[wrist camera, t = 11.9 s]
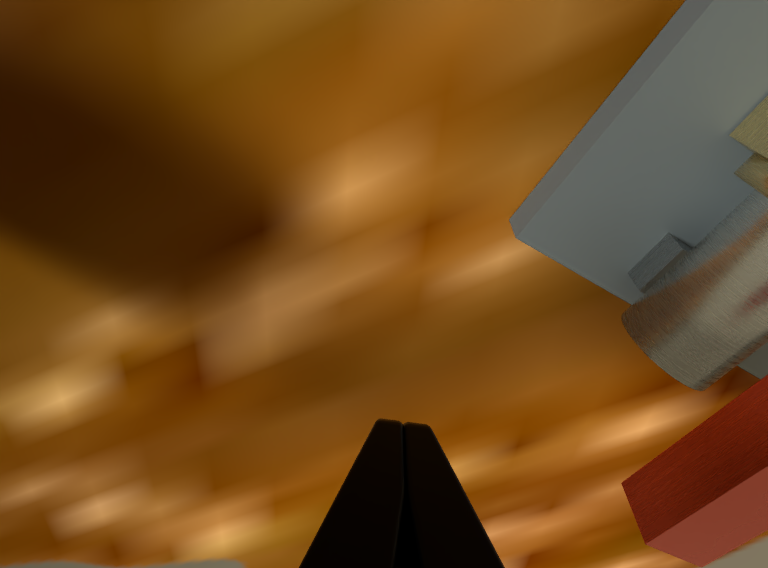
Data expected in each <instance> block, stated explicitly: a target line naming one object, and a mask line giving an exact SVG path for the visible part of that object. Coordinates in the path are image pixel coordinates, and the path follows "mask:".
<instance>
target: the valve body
mask: <svg viewBox="0 0 768 568" xmlns="http://www.w3.org/2000/svg"><path fill="white" fill-rule="evenodd" d="M729 136H731V137H732V138H733V139H735V140H736V141H737V142H739V143H740V144H742V145H743V146H744V147H746V148H747V149H748V150H750V151H751V152H752V153H753V154H752V155H751V156H750V157H749V158H748V159H747V160H746V161H745V162H744V163H743V164H742V165H741V166H740V167H739V168H738V169H737V170H736V171H735V172H734V173H733V174H735V175H736V176H737V177H739V178H740V179H742V180H743V181H745V182H746V183H747V184H749V185H750V186H752V187H753V188H754V189H755V190H754V191H753V192H752V193H751V194H750V195H749V196H748V197H747V198H745V199H744V200H743V201H742V202H741V203H740V204H739V205H738V206H737V207H736V208H735V209H734V210H733V211H732V212H731V213H729V214H728V215H727V216H726V217H725V218H724V219H723V220H722V221H721V222H720V223H719V224H718V225H717V226H716V227H715V228H713V229H712V230H711V231H710V232H709V233H708V234H707V235H706V236H705V237H704V238H703V239H702V240H701V241H700V242H699V243H698V244H696V245H695V246H694V247H693V248H691V247H690V246H688V245H687V244H685V243H683V242H682V241H680V240H679V239H677V238H676V237H674V236H672V235H671V234H669V233H668V234H666V235H665V236H664V237H663V238H662V239H661V240H660V241H659V242H658V243H657V244H656V245H655V246H654V247H653V248H652V249H651V250H650V251H649V252H648V253H647V254H646V255H645V256H644V257H643V258H642V259H641V260H640V261H639V262H638V263H637V264H636V265H635V266H634V267H633V268H632V269H631V270H630V271H629V272H628V274H629V276H630V277H631V279H632V280H633V282H634V283H635V285H636V286H637V288H638V290H639V291H641V292H642V293H644V294H643V295H642V296H641V297H640V298H639V299H638V300H637V301H636V302H635V303H634V304H632V305H631V306H630V307H629V308H628V309H627V310H626V311H625V312H624V313H623V314H622V322H623V325H624V327H625V328H626V330H627V332H628V333H629V335H630V336H631V337H632V339H633V340H634V341H635V343H636V344H637V345H638V346H639V347H640V348H641V349H642V350H643V351H644V353H645V354H646V355H647V356H648V357H649V358H650V359H652V360H653V361H654V362H655V363H656V364H657V365H658V366H659V367H660V368H662V369H663V370H664V371H665V372H667V373H668V374H669V375H671V376H672V377H673V378H675V379H676V380H678V381H679V382H681V383H683V384H684V385H686V386H688V387H690V388H692V389H695V390H698V391H703V390H705V389H707V388H708V387H709V386H711V385H712V384H713V383H714V382H716V381H717V380H718V379H720V378H721V377H722V376H724V375H725V374H726V373H728V372H729V371H730V370H732V369H733V368H734V367H736V366H737V365H738V364H740V363H741V362H742V361H743V360H745V359H746V358H747V357H749V356H750V355H751V354H753V353H754V352H755V351H757V350H758V349H759V348H761V347H762V346H763V345H765V344H766V343H767V342H768V96H767V97H766V98H765V99H764V100H763V101H762V102H761V103H760V104H759V105H758V106H757V107H756V108H755V109H754V110H753V111H752V112H751V113H750V114H749V115H748V116H747V117H746V118H745V119H744V120H743V121H742V122H741V123H740V124H739V125H738V126H737V127H736V128H735V130H734V131H733V132H732V133H731V134H730V135H729Z"/></svg>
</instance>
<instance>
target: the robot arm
mask: <svg viewBox="0 0 768 568" xmlns="http://www.w3.org/2000/svg"><path fill="white" fill-rule="evenodd" d="M299 568H505V567H504V565H503V564H502V562H501V560H500V558H499V556H498V554H497V552H496V550H495V548H494V547H493V545H492V543H491V541H490V539H489V537H488V535H487V533H486V531H485V529H484V528H483V526H482V524H481V522H480V520H479V518H478V516H477V514H476V512H475V510H474V509H473V507H472V505H471V503H470V501H469V499H468V497H467V495H466V493H465V491H464V490H463V488H462V486H461V484H460V482H459V480H458V478H457V476H456V474H455V472H454V471H453V469H452V467H451V465H450V463H449V461H448V459H447V457H446V455H445V453H444V452H443V450H442V448H441V446H440V444H439V442H438V440H437V438H436V436H435V434H434V433H433V431H432V429H431V428H430V426H428V425H426V424H419V423H412V422H406V423H404V424H402V423H401V422H400V421H396V420H388V419H378V420H377V421H376V422H375V424H374V426H373V428H372V430H371V431H370V433H369V435H368V437H367V439H366V441H365V443H364V445H363V447H362V449H361V450H360V452H359V454H358V456H357V458H356V460H355V462H354V464H353V466H352V468H351V469H350V471H349V473H348V475H347V477H346V479H345V481H344V483H343V485H342V487H341V488H340V490H339V492H338V494H337V496H336V498H335V500H334V502H333V504H332V506H331V507H330V509H329V511H328V513H327V515H326V517H325V519H324V521H323V523H322V525H321V527H320V528H319V530H318V532H317V534H316V536H315V538H314V540H313V542H312V544H311V546H310V547H309V549H308V551H307V553H306V555H305V557H304V559H303V561H302V563H301V565H300V566H299Z"/></svg>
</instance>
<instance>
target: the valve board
mask: <svg viewBox="0 0 768 568" xmlns="http://www.w3.org/2000/svg"><path fill="white" fill-rule="evenodd" d="M767 96H768V0H686V1H685V2H684V3H683V5H682V6H681V7H680V8H679V10H678V11H677V12H676V13H675V15H674V16H673V17H672V18H671V20H670V21H669V22H668V23H667V24H666V26H665V27H664V28H663V29H662V31H661V32H660V33H659V34H658V36H657V37H656V38H655V39H654V41H653V42H652V43H651V44H650V46H649V47H648V48H647V49H646V51H645V52H644V53H643V54H642V56H641V57H640V58H639V59H638V60H637V62H636V63H635V64H634V65H633V67H632V68H631V69H630V70H629V72H628V73H627V74H626V75H625V77H624V78H623V79H622V80H621V82H620V83H619V84H618V85H617V87H616V88H615V89H614V90H613V92H612V93H611V94H610V95H609V96H608V98H607V99H606V100H605V101H604V103H603V104H602V105H601V106H600V108H599V109H598V110H597V111H596V113H595V114H594V115H593V116H592V118H591V119H590V120H589V121H588V123H587V124H586V125H585V126H584V128H583V129H582V130H581V131H580V132H579V134H578V135H577V136H576V137H575V139H574V140H573V141H572V142H571V144H570V145H569V146H568V147H567V149H566V150H565V151H564V152H563V154H562V155H561V156H560V157H559V159H558V160H557V161H556V162H555V164H554V165H553V166H552V167H551V168H550V170H549V171H548V172H547V173H546V175H545V176H544V177H543V178H542V180H541V181H540V182H539V183H538V185H537V186H536V187H535V188H534V190H533V191H532V192H531V193H530V195H529V196H528V197H527V198H526V200H525V201H524V202H523V203H522V205H521V206H520V207H519V208H518V209H517V211H516V212H515V213H514V214H513V216H512V217H511V218H510V219H509V221H510V223H511V226H512V229H513V232H514V234H515V237H516V238H517V239H518V240H520V241H522V242H524V243H525V244H527V245H529V246H531V247H532V248H534V249H536V250H537V251H539V252H541V253H543V254H544V255H546V256H548V257H550V258H551V259H553V260H555V261H557V262H558V263H560V264H562V265H563V266H565V267H567V268H569V269H570V270H572V271H574V272H576V273H577V274H579V275H581V276H583V277H584V278H586V279H588V280H589V281H591V282H593V283H595V284H596V285H598V286H600V287H602V288H603V289H605V290H607V291H609V292H610V293H612V294H614V295H615V296H617V297H619V298H621V299H622V300H624V301H626V302H628V303H629V304H631V305H632V304H634V303H635V302H636V301H637V300H638V299H639V298H640V297H641V296H642V295H643V294H644V293H642V292H641V291H639V290H638V288H637V286H636V285H635V283H634V282H633V280H632V279H631V277H630V276H629V274H628V272H629V271H630V270H631V269H632V268H633V267H634V266H635V265H636V264H637V263H638V262H639V261H640V260H641V259H642V258H643V257H644V256H645V255H646V254H647V253H648V252H649V251H650V250H651V249H652V248H653V247H654V246H655V245H656V244H657V243H658V242H659V241H660V240H661V239H662V238H663V237H664V236H665V235H666V234H668V233H669V234H671V235H672V236H674V237H676V238H677V239H679V240H680V241H682V242H683V243H685V244H687V245H688V246H690V247H691V248H693V247H694V246H695V245H696V244H698V243H699V242H700V241H701V240H702V239H703V238H704V237H705V236H706V235H707V234H708V233H709V232H710V231H711V230H712V229H713V228H715V227H716V226H717V225H718V224H719V223H720V222H721V221H722V220H723V219H724V218H725V217H726V216H727V215H728V214H729V213H731V212H732V211H733V210H734V209H735V208H736V207H737V206H738V205H739V204H740V203H741V202H742V201H743V200H744V199H745V198H747V197H748V196H749V195H750V194H751V193H752V192H753V191H754V190H755V189H754V188H753V187H752V186H750V185H749V184H747V183H746V182H745V181H743V180H742V179H740V178H739V177H737V176H736V175H735V174H733V173H734V172H735V171H736V170H737V169H738V168H739V167H740V166H741V165H742V164H743V163H744V162H745V161H746V160H747V159H748V158H749V157H750V156H751V155H752V154H753V153H752V152H751V151H750V150H748V149H747V148H746V147H744V146H743V145H742V144H740V143H739V142H737V141H736V140H735V139H733V138H732V137H731V136H729V135H730V134H731V133H732V132H733V131H734V130H735V128H736V127H737V126H738V125H739V124H740V123H741V122H742V121H743V120H744V119H745V118H746V117H747V116H748V115H749V114H750V113H751V112H752V111H753V110H754V109H755V108H756V107H757V106H758V105H759V104H760V103H761V102H762V101H763V100H764V99H765V98H766V97H767ZM737 366H739V367H740V368H742V369H744V370H746V371H747V372H749V373H751V374H752V375H754V376H756V377H758V378H759V379H762V378H763V377H765V376H766V375H768V342H767V343H766V344H765V345H763V346H762V347H761V348H759V349H758V350H757V351H755V352H754V353H753V354H751V355H750V356H749V357H747V358H746V359H745V360H743V361H742V362H741V363H740V364H738V365H737Z"/></svg>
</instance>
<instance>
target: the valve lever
mask: <svg viewBox="0 0 768 568" xmlns="http://www.w3.org/2000/svg"><path fill="white" fill-rule="evenodd" d="M621 484H622V486H623V489H624V491H625V494H626V496H627V499H628V501H629V504H630V506H631V509H632V511H633V514H634V516H635V519H636V522H637V524H638V527H639V529H640V532H641V534H642V537H643V539H644V542H645V544H646V545H648V546H651V547H653V548H656V549H658V550H661V551H663V552H665V553H668V554H670V555H673V556H675V557H678V558H680V559H683V560H685V561H688V562H690V563H692V564H695V565H697V566H700V567H703V566H705V565H707V564H709V563H710V562H712V561H714V560H716V559H717V558H719V557H721V556H723V555H724V554H726V553H728V552H730V551H731V550H733V549H735V548H737V547H738V546H740V545H742V544H744V543H745V542H747V541H749V540H751V539H753V538H754V537H756V536H758V535H760V534H761V533H763V532H765V531H767V530H768V375H766V376H765V377H763V378H762V379H761V380H759V381H758V382H757V383H755V384H754V385H753V386H751V387H750V388H749V389H747V390H746V391H745V392H743V393H742V394H741V395H739V396H738V397H737V398H735V399H734V400H733V401H731V402H730V403H728V404H727V405H726V406H724V407H723V408H722V409H720V410H719V411H718V412H716V413H715V414H714V415H712V416H711V417H710V418H708V419H707V420H706V421H704V422H703V423H702V424H700V425H699V426H697V427H696V428H695V429H693V430H692V431H691V432H689V433H688V434H687V435H685V436H684V437H683V438H681V439H680V440H679V441H677V442H676V443H675V444H673V445H672V446H671V447H669V448H668V449H666V450H665V451H664V452H662V453H661V454H660V455H658V456H657V457H656V458H654V459H653V460H652V461H650V462H649V463H648V464H646V465H645V466H644V467H642V468H641V469H640V470H638V471H637V472H635V473H634V474H633V475H631V476H630V477H629V478H627V479H626V480H625V481H623V482H622V483H621Z"/></svg>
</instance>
